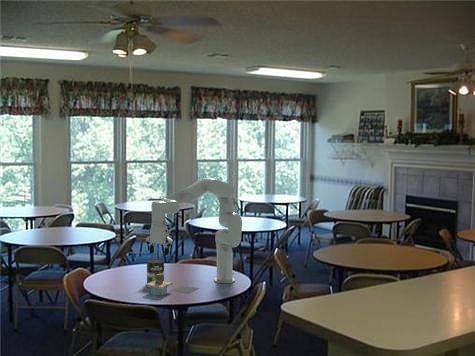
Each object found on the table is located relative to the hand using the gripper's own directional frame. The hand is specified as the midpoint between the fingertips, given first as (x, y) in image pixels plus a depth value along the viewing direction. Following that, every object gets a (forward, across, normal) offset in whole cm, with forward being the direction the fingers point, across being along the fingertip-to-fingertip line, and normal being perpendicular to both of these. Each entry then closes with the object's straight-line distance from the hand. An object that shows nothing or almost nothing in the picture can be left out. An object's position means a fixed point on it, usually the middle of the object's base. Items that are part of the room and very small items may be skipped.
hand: (159, 253), depth 314 cm
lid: (+18, 0, 0) cm, 18 cm away
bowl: (+22, 0, 0) cm, 22 cm away
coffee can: (+23, +12, -14) cm, 30 cm away
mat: (+22, -10, -12) cm, 27 cm away
